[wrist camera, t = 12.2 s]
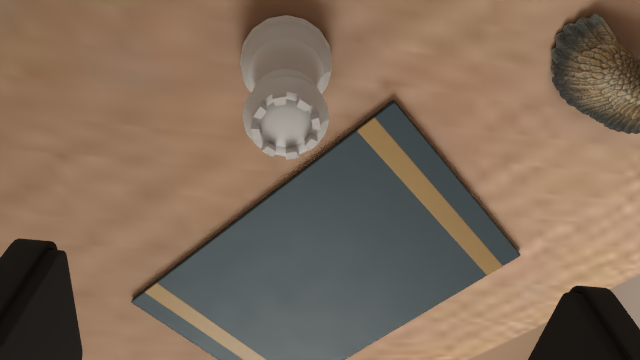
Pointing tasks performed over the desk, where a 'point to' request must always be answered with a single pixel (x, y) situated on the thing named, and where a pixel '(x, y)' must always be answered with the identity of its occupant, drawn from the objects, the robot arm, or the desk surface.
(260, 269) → the placemat
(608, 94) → the brown toy squirrel
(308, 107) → the rook chess piece
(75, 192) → the desk surface
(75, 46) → the desk surface
